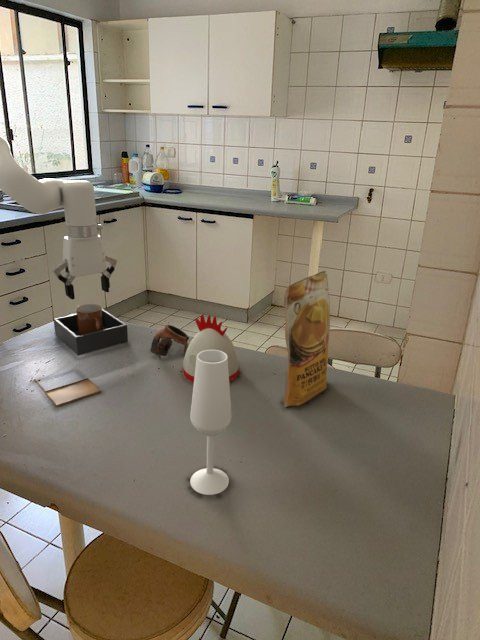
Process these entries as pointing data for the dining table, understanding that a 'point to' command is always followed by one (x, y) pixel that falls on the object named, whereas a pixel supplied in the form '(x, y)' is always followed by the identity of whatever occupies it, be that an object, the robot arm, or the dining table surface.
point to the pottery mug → (168, 340)
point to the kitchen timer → (210, 347)
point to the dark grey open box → (107, 337)
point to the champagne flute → (210, 414)
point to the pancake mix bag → (306, 338)
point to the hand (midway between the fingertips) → (88, 294)
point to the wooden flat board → (71, 392)
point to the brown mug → (89, 318)
